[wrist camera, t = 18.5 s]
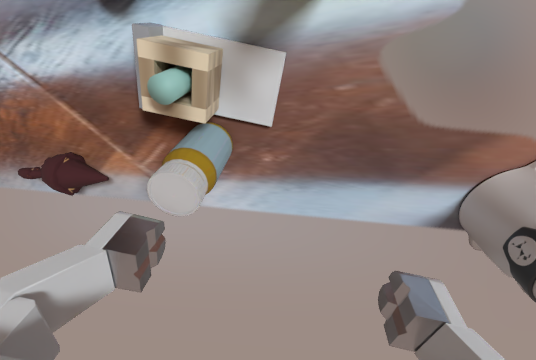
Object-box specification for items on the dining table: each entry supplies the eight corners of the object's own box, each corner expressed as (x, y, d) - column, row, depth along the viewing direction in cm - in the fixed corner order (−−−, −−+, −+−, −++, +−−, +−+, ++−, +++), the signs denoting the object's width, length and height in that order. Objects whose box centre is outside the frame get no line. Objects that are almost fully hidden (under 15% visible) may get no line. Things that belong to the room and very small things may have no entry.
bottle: (210, 167, 44) (173, 227, 32) (182, 134, 42) (130, 185, 29) (242, 148, 42) (216, 205, 29) (214, 112, 39) (173, 157, 27)
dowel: (204, 87, 36) (177, 106, 29) (182, 84, 36) (150, 103, 29) (203, 62, 34) (174, 76, 27) (180, 60, 35) (144, 72, 27)
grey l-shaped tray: (286, 52, 34) (284, 56, 30) (272, 124, 39) (268, 135, 35) (151, 22, 34) (131, 23, 30) (155, 99, 39) (139, 108, 35)
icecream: (86, 162, 39) (5, 151, 41) (93, 207, 41) (15, 194, 44) (120, 153, 45) (47, 144, 48) (124, 192, 48) (55, 182, 50)
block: (223, 48, 33) (208, 54, 28) (218, 109, 37) (205, 123, 32) (161, 35, 33) (136, 38, 28) (164, 97, 37) (142, 110, 32)
